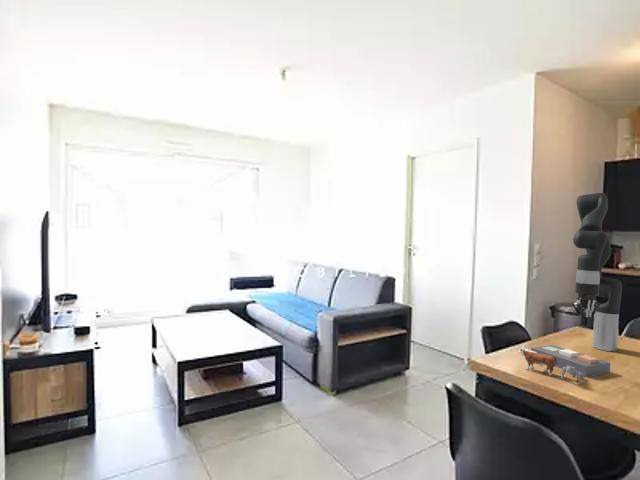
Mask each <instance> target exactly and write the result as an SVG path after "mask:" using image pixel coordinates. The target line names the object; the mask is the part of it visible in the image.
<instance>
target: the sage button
mask: <svg viewBox="0 0 640 480" xmlns="http://www.w3.org/2000/svg"><path fill="white" fill-rule="evenodd" d="M543 349H546V350H549V351H552V352H555V351H559V349H556V348H553V347H543Z"/></svg>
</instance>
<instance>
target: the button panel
mask: <svg viewBox="0 0 640 480" xmlns="http://www.w3.org/2000/svg"><path fill="white" fill-rule="evenodd" d="M543 347H553V348H556V349H559V350H564V349H566V348H564V347H561V346H557V345H554V344H551V345H542V346H534V347H531V348H530V350H531V351H534V352H537V353H540V354H545V355H551V356H554V357H555V358H556V359H557V363H556V364H555V363H554V364H555V365H554V367H557V368H560V369H562V370H563V367H566V366H571V367H575V369H576V370H577V371H578V372H581V373H583V377H584V378H588V377H594V376H600V375H601V376H602V375H606V374H610V373H611V362H609V361H605V360H604V359H600V358H597V359H598V363H595V364H588V363H585V362H582V361H579V360H577V358H578V357H572V358H570V357H567V356H564V355H561V354H559V351H555V352H552V351H549V350H546V349H543ZM578 353H579V356H581V355H585V354H584V353H580V352H578ZM555 362H556V361H555Z"/></svg>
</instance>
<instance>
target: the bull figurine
mask: <svg viewBox="0 0 640 480" xmlns="http://www.w3.org/2000/svg"><path fill="white" fill-rule="evenodd" d="M518 353H519V354H521V355H522V357H523V359H524V361H525V362H526V363H527V366H526V368H525V369H524V370H525V371H528V370H534V369H535V367H534V364H535V365H539V367H540V368H541V367H543V366H546V369H544V370H543V371H542V372H543V373H548V372H549V373H548V374H547V375H548V376H553V371H554V368H555V366H554V365H555V364H556V363H557V359H556V358H555V357H554V356H551V355H545V354H540V353H537V352H534V351H531V349H530V348H526V347H525V346H522V347H521V348H519V350H518ZM555 361H556V362H555ZM554 363H555V364H554Z"/></svg>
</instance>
